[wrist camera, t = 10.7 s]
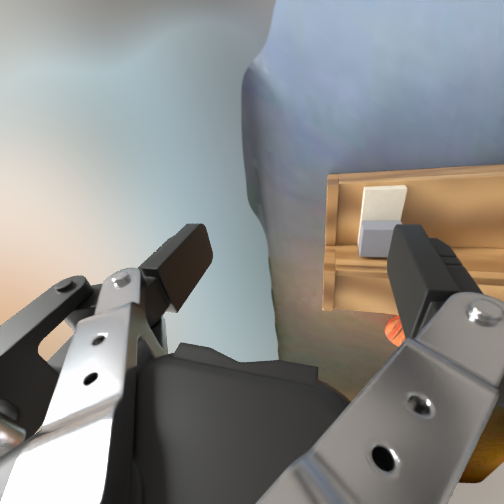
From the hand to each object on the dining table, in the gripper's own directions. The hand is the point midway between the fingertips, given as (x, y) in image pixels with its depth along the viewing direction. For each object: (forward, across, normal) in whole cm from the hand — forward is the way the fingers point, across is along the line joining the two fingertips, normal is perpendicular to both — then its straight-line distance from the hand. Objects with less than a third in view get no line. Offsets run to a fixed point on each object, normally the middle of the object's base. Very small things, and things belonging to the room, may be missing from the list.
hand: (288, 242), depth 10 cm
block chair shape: (+22, -8, +10) cm, 25 cm away
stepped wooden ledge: (+26, -13, +14) cm, 32 cm away
